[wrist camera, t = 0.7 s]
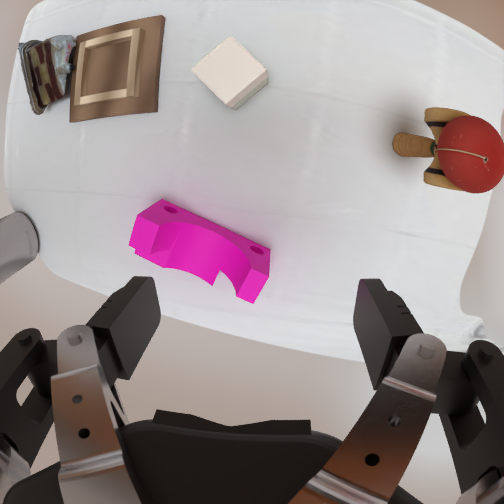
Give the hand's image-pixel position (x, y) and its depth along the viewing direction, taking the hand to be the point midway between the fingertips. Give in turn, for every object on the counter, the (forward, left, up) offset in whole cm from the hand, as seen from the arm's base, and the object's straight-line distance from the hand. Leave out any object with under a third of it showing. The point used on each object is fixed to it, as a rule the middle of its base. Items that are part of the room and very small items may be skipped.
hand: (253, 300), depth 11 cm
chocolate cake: (-29, +13, -26) cm, 41 cm away
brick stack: (-4, +12, -25) cm, 28 cm away
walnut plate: (-20, +15, -25) cm, 35 cm away
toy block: (-7, -8, -25) cm, 27 cm away
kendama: (+16, +7, -25) cm, 30 cm away
